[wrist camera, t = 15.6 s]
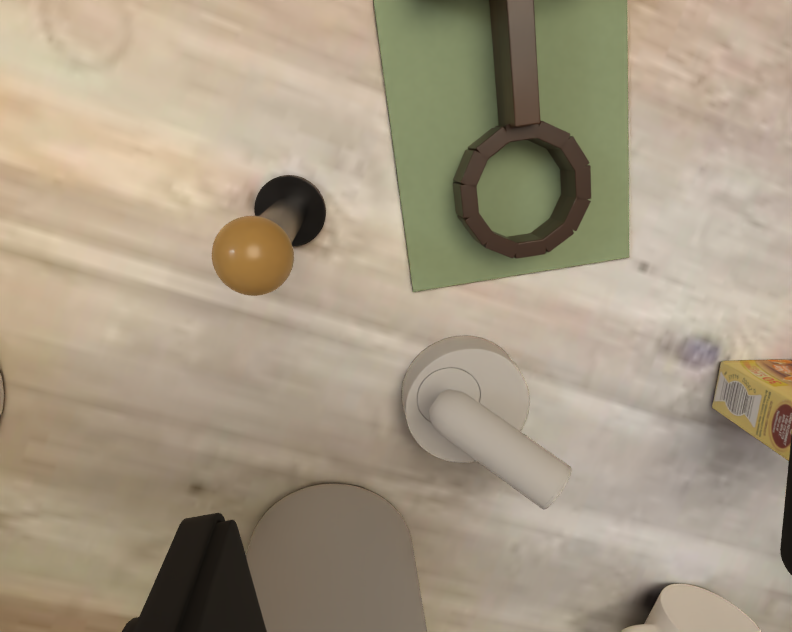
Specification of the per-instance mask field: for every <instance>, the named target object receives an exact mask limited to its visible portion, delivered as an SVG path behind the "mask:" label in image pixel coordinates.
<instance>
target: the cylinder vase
mask: <svg viewBox="0 0 792 632" xmlns="http://www.w3.org/2000/svg"><path fill="white" fill-rule="evenodd" d="M246 559H247V562H248V566H249V570H250V573H251V577H252V580H253V584H254V587H255V591H256V595H257V598H258V602H259V605H260V609H261V613H262V616H263V620H264V623H265V627H266V630H267V632H427V628H426V622H425V616H424V610H423V604H422V598H421V592H420V586H419V580H418V574H417V568H416V562H415V556H414V550H413V544H412V539H411V535H410V532H409V529H408V527H407V525H406V523H405V521H404V519H403V518H402V516H401V515H400V513H399V512H398V511H397V510H396V509H395V508H394V507H393V506H392V505H391V504H390V503H389V502H388V501H386V500H385V499H384V498H382V497H381V496H379V495H377V494H375V493H373V492H371V491H369V490H367V489H364V488H361V487H357V486H353V485H347V484H320V485H315V486H310V487H306V488H303V489H300V490H298V491H296V492H293V493H291V494H289V495H287V496H286V497H284V498H282V499H281V500H280V501H278V502H277V503H276V504H274V505H273V506H272V507H271V508H270V509H269V510H268V511H267V512H266V513H265V514H264V515H263V517H262V518H261V519H260V521H259V522H258V524H257V526H256V528H255V529H254V532H253V534H252V537H251V540H250V543H249V548H248V552H247V556H246Z"/></svg>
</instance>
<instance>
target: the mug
mask: <svg viewBox="0 0 792 632" xmlns="http://www.w3.org/2000/svg"><path fill="white" fill-rule="evenodd" d="M621 632H762V631H761V630H760V629H759V627H758V626H757V625H756V624H755V623H754V622H753V621H752V620H751V619H750V618H749V617H748V616H747V615H746V614H745V613H744V612H742V611H741V610H740V609H739V608H737V607H736V606H735V605H733V604H732V603H730V602H729V601H727V600H725V599H724V598H722V597H720V596H718V595H716V594H714V593H712V592H710V591H708V590H705V589H703V588H700V587H697V586H693V585H688V584H671V585H668V586H666V587H665V588H664V589H663V590H662V591H661V593H660V595H659V597H658V599H657V601H656V603H655V605H654V606H653V608H652V610H651V612H650V614H649V616H648V618H647V620H646V621H645V623H644V624H641V625H634V626H630V627H627V628H625V629H623V630H622V631H621Z"/></svg>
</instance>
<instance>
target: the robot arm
mask: <svg viewBox="0 0 792 632" xmlns="http://www.w3.org/2000/svg"><path fill="white" fill-rule="evenodd" d="M3 401H4V390H3V381H2V377H1V374H0V416H1V414H2V411H3ZM780 550H781V557H782V561H783V563H784V565H785V567H786V568H787V570H788V572H789V573H790V574H791V575H792V434H791V445H790V455H789V466H788V476H787V486H786V497H785V507H784V518H783V528H782V539H781V549H780ZM122 632H267V630H266V627H265V623H264V620H263V616H262V613H261V609H260V605H259V602H258V598H257V595H256V591H255V587H254V584H253V580H252V577H251V573H250V570H249V566H248V562H247V559H246V555H245V552H244V548H243V544H242V541H241V537H240V534H239V530H238V527H237V524H236V522H235V521H234V520H229V521H225V519H224V517H223V515H222V514H220V513H215V514H209V515H203V516H198V517H192V518H186V519H184V520H182V522H181V524H180V525H179V528H178V530H177V532H176V535H175V537H174V539H173V541H172V544H171V546H170V548H169V551H168V553H167V555H166V557H165V560H164V562H163V564H162V567H161V569H160V571H159V573H158V576H157V578H156V580H155V582H154V585H153V587H152V589H151V592H150V594H149V596H148V598H147V601H146V603H145V605H144V608H143V610H142V612H141V614H140V617H137V618H133V619H132V620H130V621H129V622H128V623H127V624H126V626H125V627H124V629H123V631H122Z"/></svg>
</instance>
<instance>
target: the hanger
mask: <svg viewBox="0 0 792 632" xmlns="http://www.w3.org/2000/svg"><path fill="white" fill-rule="evenodd" d="M489 5H490V18H491V31H492V44H493V57H494V70H495V83H496V96H497V109H498V122H499V126H495V127H494V128H491V129H490V130H489V131H487V132H486V133H485V134H484V135H482V136H481V137H480V138H479V139H477V140H476V141H475V142H474V143H472V144H471V145H470V146H469V147H468V150H465V152H464V154H463V157H462V159H461V162H460V164H459V166H458V169H457V171H456V174H455V176H454V178H453V180H454V181H456V182H453V192H454V201H455V211H456V214H458V215H457V217H458V218H459V220H460V221H461V222H462V224H463V225H464V227H465V228H466V229H467V231H468V232H469V233H470V235H471V236H472V237H473V239H475V240H476V241H477V242H478V243H480V244H481V245H482V246H484V247H485V248H487V249H490V250H492V251H495V252H497V253H500V254H502V255H505V256H507V257H510V258H512V259H513V258H516V259H518V258H524V257H531V256H537V255H543V254H546V252H548V253H549V252H550V251H552V250H553V249H554V248H556V247H557V246H558V245H560V244H561V243H562V242H564V241H565V240H566V239H568V238H569V237H570V236H572V235H573V234H574V232H573V230H574V231H577V229H578V227H579V225H580V223H581V221H582V219H583V217H584V215H585V213H586V211H587V209H588V207H589V204H590V202H591V201H590V200H588V199H591V166H590V165H588V164H589V161H588V159H587V158H586V156H585V154H584V153H583V151H582V150H581V148H580V146H579V145H578V143H577V142H576V140H575V138H574V137H573V136H570V133H568V132H566V131H564V130H561V129H559V128H557V127H555V126H553V125H551V124H548V123H546V122H544V121H540V103H539V85H538V66H537V48H536V30H535V11H534V0H489ZM522 140H528V141H531V142H533V143H535V144H537V145H539V146H542V147H544V148H546V149H547V150H548V152H549V153H550V155H551V156H552V158H553V159H554V161H555V162H556V164H557V166H558V167H559V169H560V181H561V196H560V198H559V200H558V202H557V204H556V206H555V208H554V210H553V212H552V215H551V217H550V218H549V219H548V220H547V221H545V222H544V223H543V224H542V225H540V226H539V227H538V228H536V229H535V230H534V231H532V232H531V233H528V234H521V235H515V236H509V237H506V236H503V235H501V234H499V233H496V232H494V231H492V230H491V229H490V227H489V226H488V225H487V223H486V222H485V220H484V219H483V218H482V216H481V215H480V213H479V207H478V196H477V184H478V182H479V179H480V177H481V175H482V172H483V170H484V168H485V165H486V163H487V161H488V159H489V158H491V157H492V156H493V155H494V154H496V153H497V152H498V151H499V150H501V149H502V148H503V147H504V146H506V145H507V144H508V143H509V142H515V141H522Z"/></svg>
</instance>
